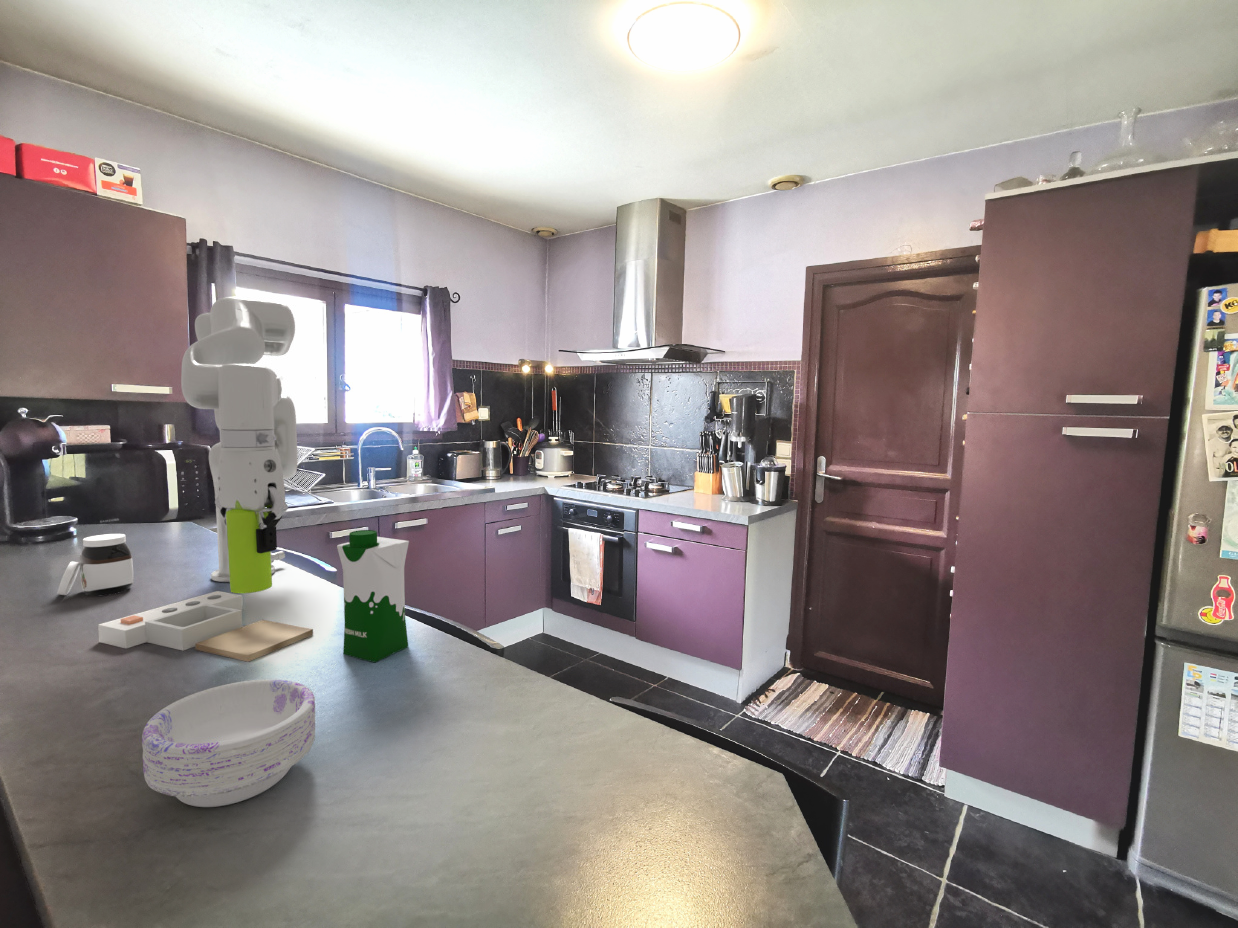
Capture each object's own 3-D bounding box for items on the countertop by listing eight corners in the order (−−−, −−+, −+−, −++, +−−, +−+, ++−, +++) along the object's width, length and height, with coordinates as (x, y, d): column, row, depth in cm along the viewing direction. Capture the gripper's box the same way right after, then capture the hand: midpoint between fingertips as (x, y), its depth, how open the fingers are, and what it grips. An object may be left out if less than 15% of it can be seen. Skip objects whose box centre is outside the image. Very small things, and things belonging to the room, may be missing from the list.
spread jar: (139, 590, 126) (136, 536, 125) (70, 604, 117) (65, 546, 116) (117, 581, 132) (114, 530, 131) (49, 594, 123) (45, 538, 122)
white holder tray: (217, 605, 117) (217, 587, 117) (277, 616, 111) (276, 598, 111) (99, 641, 98) (97, 620, 98) (163, 657, 93) (162, 635, 92)
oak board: (263, 624, 107) (263, 619, 107) (313, 634, 103) (312, 629, 103) (195, 649, 96) (195, 643, 96) (248, 661, 92) (247, 655, 92)
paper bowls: (347, 749, 69) (345, 683, 68) (234, 841, 54) (231, 759, 53) (238, 731, 72) (235, 669, 71) (104, 814, 57) (99, 736, 57)
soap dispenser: (284, 581, 102) (278, 466, 100) (255, 594, 95) (249, 470, 93) (252, 580, 102) (246, 465, 101) (221, 592, 95) (214, 469, 94)
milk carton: (334, 655, 94) (330, 532, 93) (378, 636, 103) (376, 522, 101) (374, 666, 91) (371, 538, 89) (417, 645, 99) (415, 527, 97)
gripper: (306, 441, 97) (310, 549, 98) (232, 438, 103) (237, 540, 105) (265, 443, 90) (269, 560, 91) (188, 440, 96) (193, 549, 98)
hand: (252, 548), depth 98 cm, fingers closed on soap dispenser, 5 cm apart
